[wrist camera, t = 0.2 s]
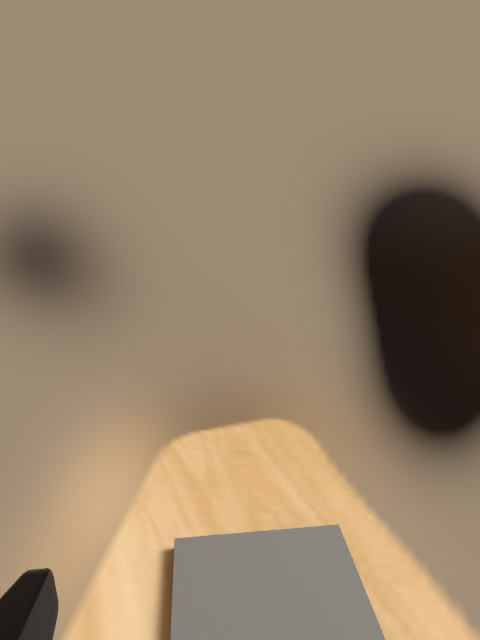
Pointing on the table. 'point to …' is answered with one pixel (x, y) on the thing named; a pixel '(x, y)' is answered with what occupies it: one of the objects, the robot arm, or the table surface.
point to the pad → (269, 588)
